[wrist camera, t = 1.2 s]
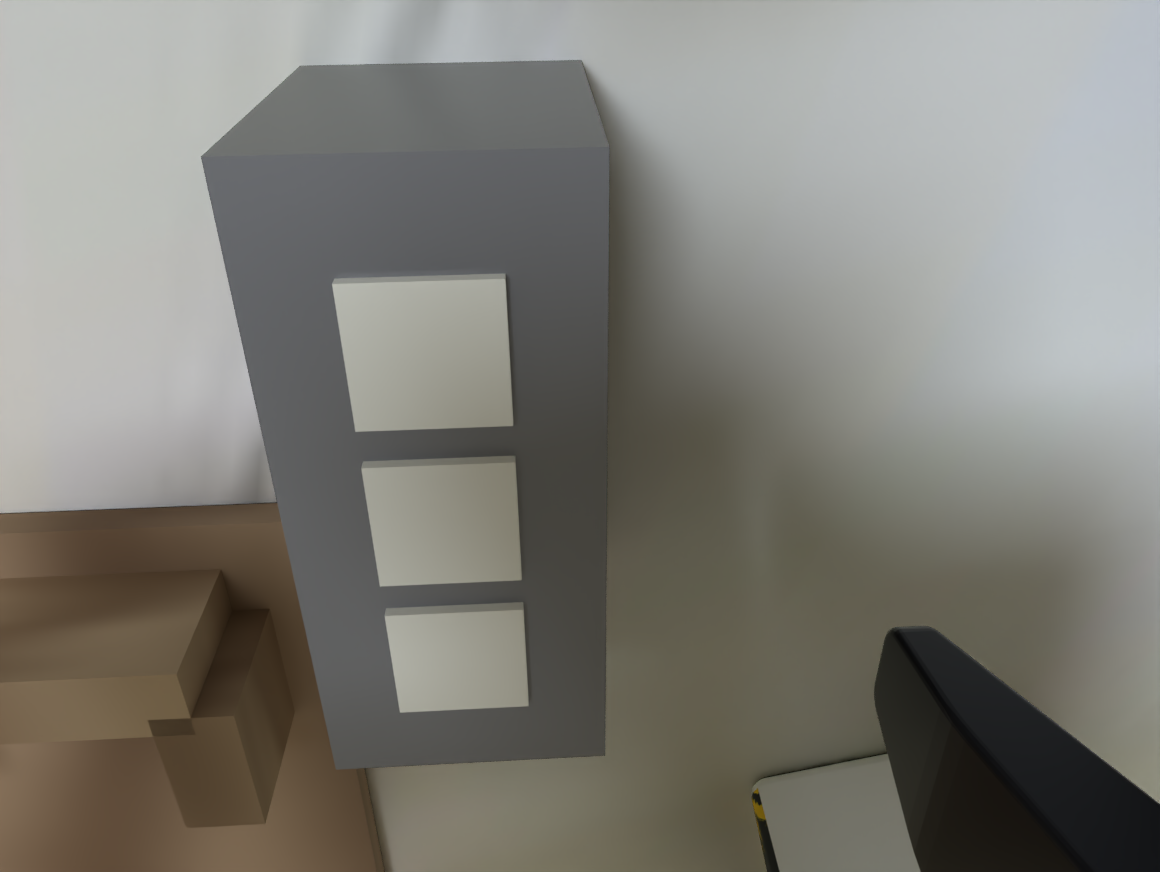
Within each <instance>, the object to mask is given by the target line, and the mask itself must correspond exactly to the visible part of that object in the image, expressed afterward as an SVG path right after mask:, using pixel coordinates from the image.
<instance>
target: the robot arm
mask: <svg viewBox="0 0 1160 872" xmlns="http://www.w3.org/2000/svg"><path fill="white" fill-rule="evenodd" d="M874 699H875V707H876V711H877V715H878V719H879V723H880V727H881V730H882V734H883V738H884V742H885V746H886V750H887V753H888V757H889V761H890V765H891V769H892V773H893V777H894V780H895V784H896V788H897V792H898V796H899V800H900V803H901V807H902V811H903V815H904V819H905V823H906V826H907V830H908V834H909V837H910V841H911V844H912V848H913V851H914V854H915V857H916V860H917V863H918V866H919V869H920V871H921V872H1160V804H1159V803H1158V802H1157V801H1155V800H1154V799H1153V798H1152V797H1150V796H1149V795H1148V794H1146V793H1145V792H1144V791H1143V790H1141V789H1140V788H1139V787H1137V786H1136V785H1135V784H1134V783H1132V782H1131V781H1130V780H1128V779H1127V778H1126V777H1125V776H1123V775H1122V774H1121V773H1119V772H1118V771H1117V770H1116V769H1114V768H1113V767H1112V766H1110V765H1109V764H1108V763H1107V762H1105V761H1104V760H1103V759H1101V758H1100V757H1099V756H1098V755H1096V754H1095V753H1094V752H1092V751H1091V750H1090V749H1089V748H1087V747H1086V746H1085V745H1083V744H1082V743H1081V742H1080V741H1078V740H1077V739H1076V738H1074V737H1073V736H1072V735H1071V734H1069V733H1068V732H1067V731H1066V730H1064V729H1063V728H1062V727H1060V726H1059V725H1058V724H1057V723H1055V722H1054V721H1053V720H1051V719H1050V718H1049V717H1048V716H1046V715H1045V714H1044V713H1042V712H1041V711H1040V710H1039V709H1037V708H1036V707H1035V706H1033V705H1032V704H1031V703H1030V702H1028V701H1027V700H1026V699H1024V698H1023V697H1022V696H1021V695H1019V694H1018V693H1017V692H1015V691H1014V690H1013V689H1012V688H1010V687H1009V686H1008V685H1006V684H1005V683H1004V682H1003V681H1001V680H1000V679H999V678H997V677H996V676H995V675H994V674H992V673H991V672H990V671H988V670H987V669H986V668H985V667H983V666H982V665H981V664H979V663H978V662H977V661H976V660H974V659H973V658H972V657H971V656H969V655H968V654H967V653H965V652H964V651H963V650H962V649H960V648H959V647H958V646H956V645H955V644H954V643H953V642H951V641H950V640H949V639H947V638H946V637H945V636H944V635H942V634H941V633H940V632H938V631H937V630H935V629H933V628H931V627H928V626H912V627H895V628H892V629H891V630H889V632H888V633H887V635H886V637H885V640H884V645H883V649H882V654H881V659H880V663H879V668H878V672H877V677H876V681H875V687H874Z"/></svg>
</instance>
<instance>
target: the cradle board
mask: <svg viewBox="0 0 1160 872" xmlns="http://www.w3.org/2000/svg"><path fill="white" fill-rule="evenodd" d="M0 872H385V871H384V866H383V861H382V856H381V851H380V846H379V840H378V835H377V830H376V825H375V820H374V815H373V810H372V804H371V799H370V794H369V789H368V784H367V779H366V774H365V769H364V768H359V769H340V770H336V767H335V763H334V758H333V754H332V749H331V745H330V740H329V736H328V731H327V727H326V722H325V718H324V713H323V708H322V704H321V699H320V695H319V690H318V686H317V681H316V677H315V672H314V668H313V663H312V658H311V654H310V649H309V645H308V640H307V636H306V631H305V627H304V622H303V618H302V613H301V609H300V604H299V599H298V595H297V590H296V586H295V581H294V577H293V572H292V568H291V563H290V559H289V554H288V549H287V545H286V540H285V536H284V531H283V527H282V522H281V518H280V513H279V509H278V504H277V503H265V504H240V505H215V506H190V507H165V508H139V509H114V510H89V511H64V512H39V513H14V514H0Z"/></svg>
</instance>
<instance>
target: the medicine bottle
mask: <svg viewBox="0 0 1160 872" xmlns="http://www.w3.org/2000/svg"><path fill="white" fill-rule="evenodd" d="M752 802H753V807H754V812H755V817H756V821H757V826H758V831H759V836H760V840H761V845H762V850H763V855H764V859H765V864H766V869H767V872H921V871H920V869H919V866H918V863H917V860H916V857H915V854H914V851H913V848H912V844H911V841H910V837H909V834H908V830H907V826H906V823H905V819H904V815H903V811H902V807H901V803H900V800H899V796H898V792H897V788H896V784H895V780H894V777H893V773H892V769H891V765H890V761H889V757H888V754H883V755H878V756H873V757H868V758H863V759H858V760H853V761H848V762H843V763H838V764H833V765H828V766H823V767H818V768H813V769H808V770H803V771H798V772H793V773H788V774H783V775H778V776H773V777H768V778H763V779H760V780H759V781H758V782H757V783H756V784H755V785H754V786H753V789H752Z"/></svg>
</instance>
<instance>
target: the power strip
mask: <svg viewBox="0 0 1160 872" xmlns="http://www.w3.org/2000/svg"><path fill="white" fill-rule="evenodd" d="M201 159H202V163H203V168H204V173H205V177H206V182H207V186H208V191H209V195H210V200H211V204H212V209H213V213H214V218H215V222H216V227H217V232H218V236H219V241H220V245H221V250H222V254H223V259H224V263H225V268H226V272H227V277H228V282H229V286H230V291H231V295H232V300H233V304H234V309H235V313H236V318H237V322H238V327H239V331H240V336H241V341H242V345H243V350H244V354H245V359H246V363H247V368H248V372H249V377H250V381H251V386H252V391H253V395H254V400H255V404H256V409H257V413H258V418H259V422H260V427H261V431H262V436H263V440H264V445H265V450H266V454H267V459H268V463H269V468H270V472H271V477H272V481H273V486H274V490H275V495H276V500H277V504H278V509H279V513H280V518H281V522H282V527H283V531H284V536H285V540H286V545H287V549H288V554H289V559H290V563H291V568H292V572H293V577H294V581H295V586H296V590H297V595H298V599H299V604H300V609H301V613H302V618H303V622H304V627H305V631H306V636H307V640H308V645H309V649H310V654H311V658H312V663H313V668H314V672H315V677H316V681H317V686H318V690H319V695H320V699H321V704H322V708H323V713H324V718H325V722H326V727H327V731H328V736H329V740H330V745H331V749H332V754H333V758H334V763H335V767H336V770H340V769H359V768H378V767H397V766H416V765H435V764H454V763H473V762H492V761H511V760H530V759H549V758H568V757H587V756H605V705H606V565H607V425H608V286H609V144H608V141H607V138H606V135H605V132H604V128H603V125H602V122H601V119H600V116H599V113H598V110H597V107H596V104H595V101H594V98H593V95H592V92H591V89H590V86H589V82H588V79H587V76H586V73H585V70H584V67H583V64H582V61H581V60H564V61H514V62H464V63H415V64H365V65H315V66H299V67H298V68H297V69H296V70H295V71H294V72H293V73H292V74H291V75H290V76H289V77H287V78H286V79H285V80H284V81H283V82H282V83H281V84H280V85H279V86H278V87H277V88H275V89H274V90H273V91H272V92H271V93H270V94H269V95H268V96H267V97H266V98H265V99H263V100H262V101H261V102H260V103H259V104H258V105H257V106H256V107H255V108H254V109H253V110H251V111H250V112H249V113H248V114H247V115H246V116H245V117H244V118H243V119H242V120H241V121H239V122H238V123H237V124H236V125H235V126H234V127H233V128H232V129H231V130H230V131H229V132H227V133H226V134H225V135H224V136H223V137H222V138H221V139H220V140H219V141H218V142H217V143H215V144H214V145H213V146H212V147H211V148H210V149H209V150H208V151H207V152H206V153H205V154H203V155H202V156H201Z"/></svg>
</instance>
